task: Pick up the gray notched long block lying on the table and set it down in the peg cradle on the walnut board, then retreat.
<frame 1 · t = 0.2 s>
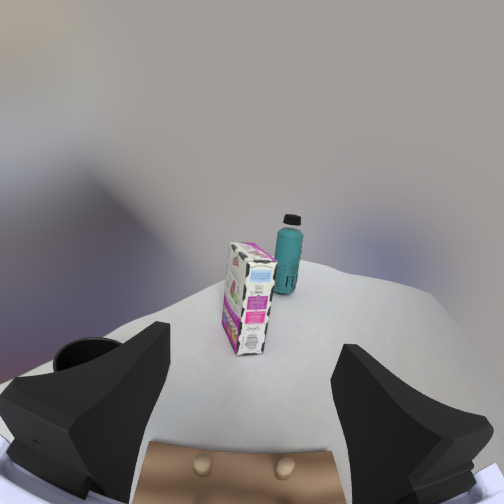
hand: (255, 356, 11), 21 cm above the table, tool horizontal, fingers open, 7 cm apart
mug: (100, 421, 26), on the table
beverage bottle: (281, 294, 72), on the table
peg rack: (241, 502, 19), on the table
candy bar box: (241, 339, 50), on the table
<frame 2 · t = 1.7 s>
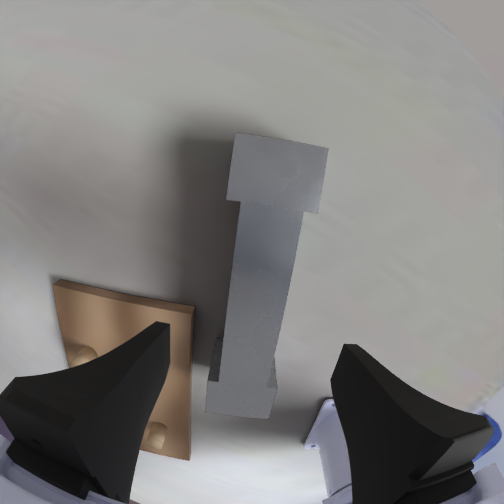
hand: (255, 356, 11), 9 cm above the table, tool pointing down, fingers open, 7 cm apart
gray notched long block: (255, 275, 20), on the table
peg rack: (129, 385, 23), on the table
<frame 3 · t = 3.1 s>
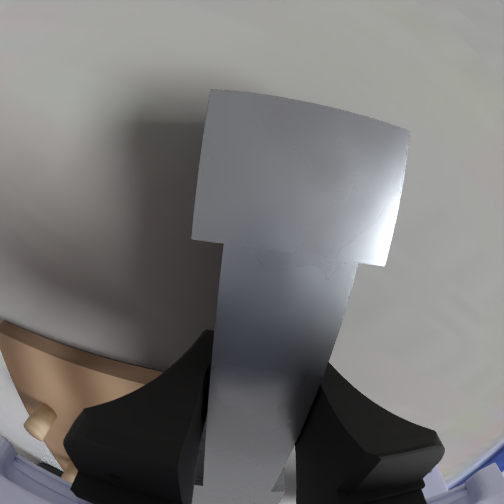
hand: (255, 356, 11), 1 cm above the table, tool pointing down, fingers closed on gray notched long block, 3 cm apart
gray notched long block: (255, 337, 12), on the table, touching gripper
peg rack: (101, 444, 16), on the table
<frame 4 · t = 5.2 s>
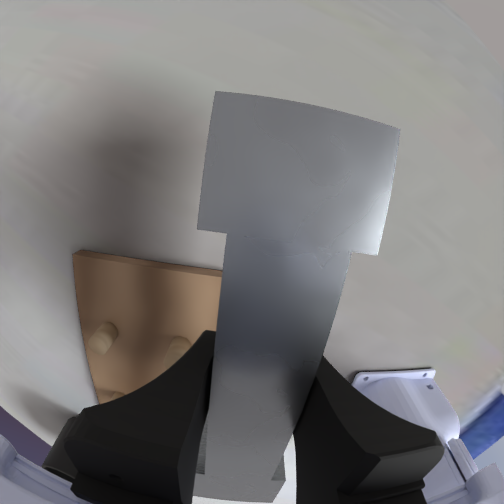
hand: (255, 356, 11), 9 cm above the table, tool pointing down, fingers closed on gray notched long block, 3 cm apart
mug: (107, 442, 28), on the table
gray notched long block: (255, 328, 13), point 7 cm above the table, touching gripper
peg rack: (151, 366, 23), on the table
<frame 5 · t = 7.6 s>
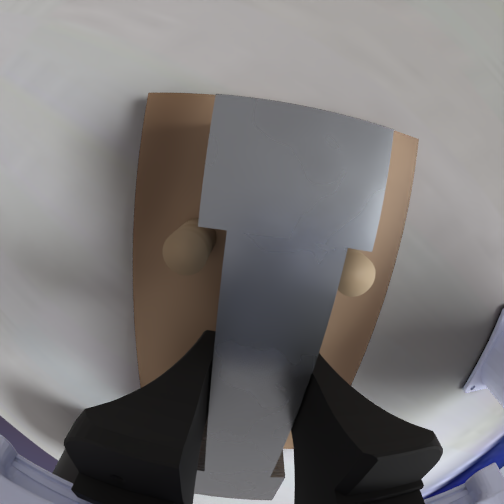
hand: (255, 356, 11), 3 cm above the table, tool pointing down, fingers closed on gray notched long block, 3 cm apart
mug: (138, 455, 19), on the table
gray notched long block: (255, 326, 13), point 1 cm above the table, touching gripper, peg rack
peg rack: (255, 315, 14), on the table
when the fingers open (3 cm above the table, at t = 7.8 s): gray notched long block stays where it is, resting on peg rack.
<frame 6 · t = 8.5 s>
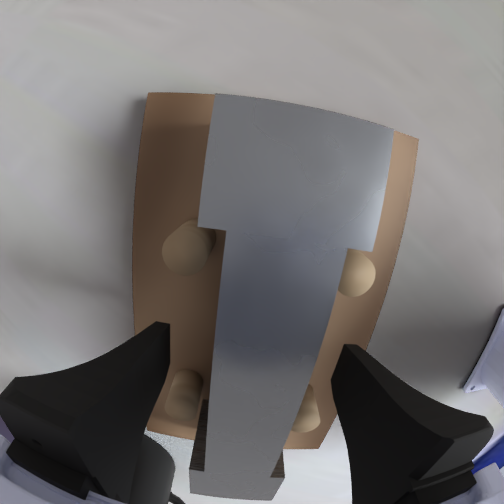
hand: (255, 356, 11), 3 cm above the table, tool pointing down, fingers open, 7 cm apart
mug: (138, 455, 19), on the table
gray notched long block: (255, 326, 13), point 1 cm above the table, touching peg rack
peg rack: (255, 316, 14), on the table
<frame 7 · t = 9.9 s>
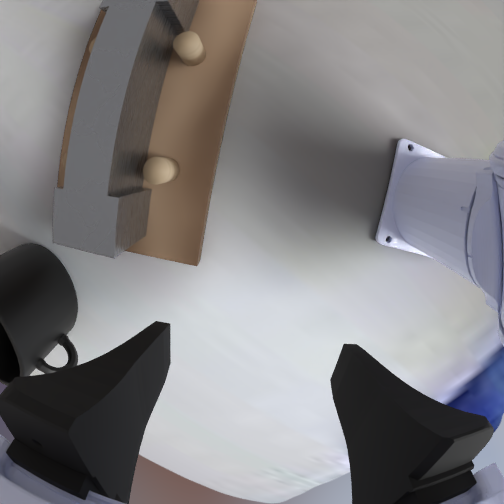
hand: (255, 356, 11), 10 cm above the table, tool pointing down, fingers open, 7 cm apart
mug: (51, 298, 22), on the table
gray notched long block: (137, 105, 16), point 1 cm above the table, touching peg rack
peg rack: (143, 109, 17), on the table
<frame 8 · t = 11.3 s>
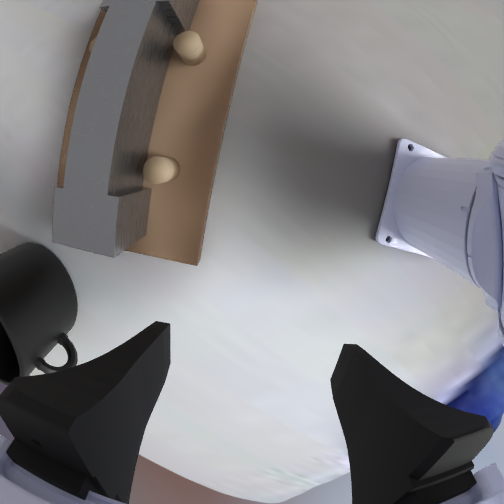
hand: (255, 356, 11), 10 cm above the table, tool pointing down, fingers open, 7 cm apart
mug: (51, 297, 22), on the table
gray notched long block: (137, 104, 16), point 1 cm above the table, touching peg rack
peg rack: (143, 109, 17), on the table
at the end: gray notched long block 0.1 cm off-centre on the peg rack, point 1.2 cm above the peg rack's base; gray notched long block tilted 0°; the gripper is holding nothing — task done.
